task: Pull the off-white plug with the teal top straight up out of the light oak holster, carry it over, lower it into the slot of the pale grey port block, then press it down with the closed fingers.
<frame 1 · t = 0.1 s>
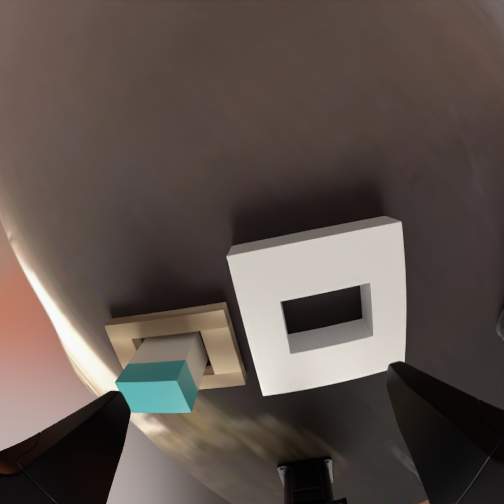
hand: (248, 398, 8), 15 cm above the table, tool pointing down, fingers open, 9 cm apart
plug: (165, 370, 21), in the holster
port block: (322, 303, 23), on the table
holster: (176, 348, 25), on the table
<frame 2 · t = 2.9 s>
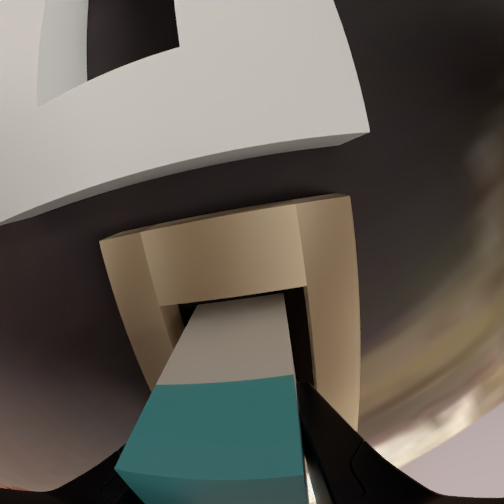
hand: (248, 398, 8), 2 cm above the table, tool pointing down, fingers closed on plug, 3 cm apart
plug: (246, 425, 7), in the holster, touching gripper
port block: (136, 28, 8), on the table
holster: (252, 359, 11), on the table
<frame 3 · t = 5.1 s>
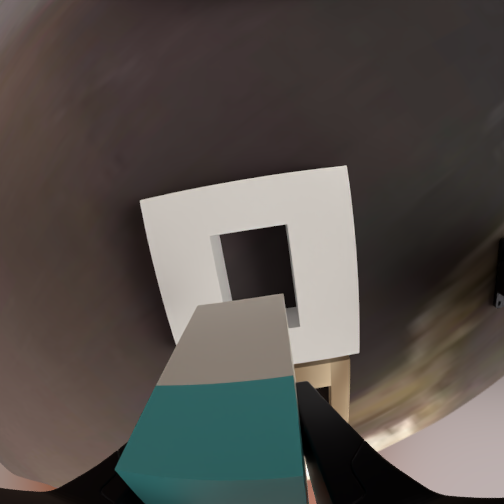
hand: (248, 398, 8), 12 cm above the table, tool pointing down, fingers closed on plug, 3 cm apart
plug: (246, 426, 7), point 14 cm above the table, touching gripper
port block: (258, 268, 20), on the table
holster: (304, 405, 23), on the table
when the fingers open (4 cm above the table, at t = 7.3 s): plug drops 1 cm, resting in port block.
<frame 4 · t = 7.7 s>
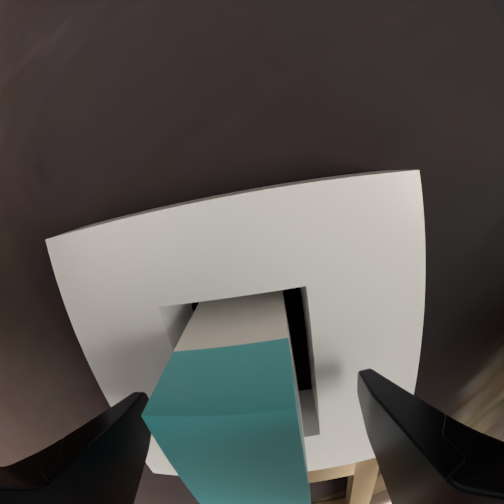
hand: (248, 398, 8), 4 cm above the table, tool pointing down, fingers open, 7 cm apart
plug: (249, 393, 9), in the port block
port block: (253, 339, 12), on the table
holster: (315, 485, 15), on the table
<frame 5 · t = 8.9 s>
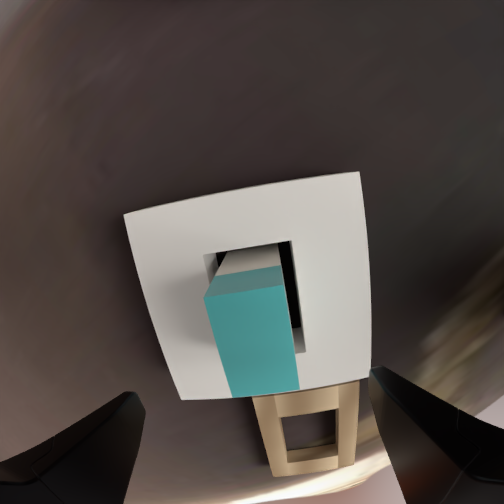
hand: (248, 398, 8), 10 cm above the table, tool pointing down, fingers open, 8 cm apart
plug: (258, 311, 15), in the port block
port block: (259, 286, 18), on the table
holster: (309, 426, 21), on the table
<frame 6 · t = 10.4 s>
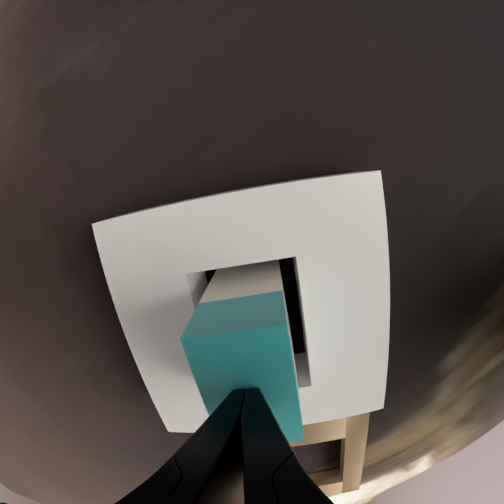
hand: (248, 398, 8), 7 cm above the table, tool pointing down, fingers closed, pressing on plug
plug: (254, 342, 12), in the port block, touching gripper
port block: (256, 307, 15), on the table
holster: (312, 453, 18), on the table
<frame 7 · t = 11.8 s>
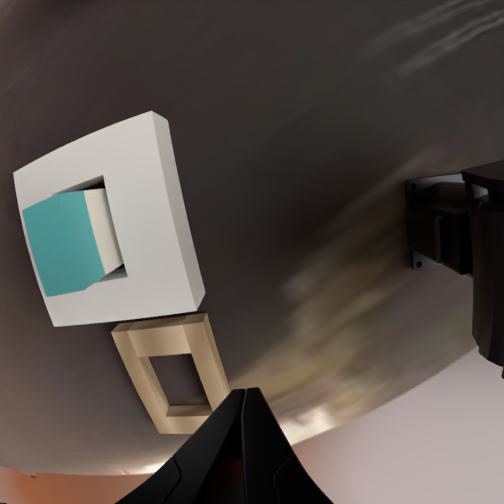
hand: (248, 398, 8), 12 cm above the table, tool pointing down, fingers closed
plug: (83, 235, 16), in the port block
port block: (108, 226, 19), on the table
holster: (181, 377, 22), on the table
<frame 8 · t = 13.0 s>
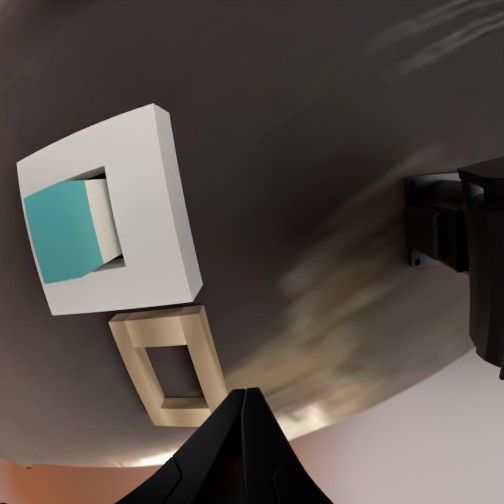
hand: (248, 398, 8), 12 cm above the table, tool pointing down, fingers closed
plug: (83, 224, 16), in the port block
port block: (108, 216, 20), on the table
holster: (177, 369, 22), on the table
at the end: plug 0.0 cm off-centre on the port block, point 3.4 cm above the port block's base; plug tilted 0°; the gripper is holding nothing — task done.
